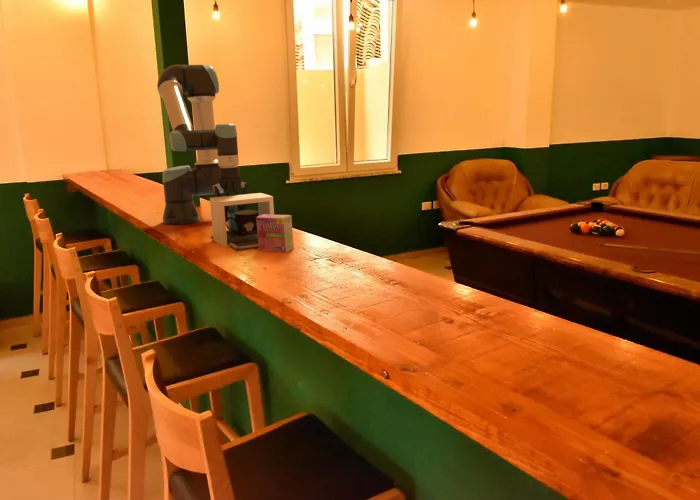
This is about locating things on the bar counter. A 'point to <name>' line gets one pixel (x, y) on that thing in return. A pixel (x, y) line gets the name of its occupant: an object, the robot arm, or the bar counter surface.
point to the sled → (233, 236)
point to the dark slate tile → (244, 246)
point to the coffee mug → (245, 222)
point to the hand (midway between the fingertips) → (233, 228)
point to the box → (275, 232)
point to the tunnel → (219, 202)
